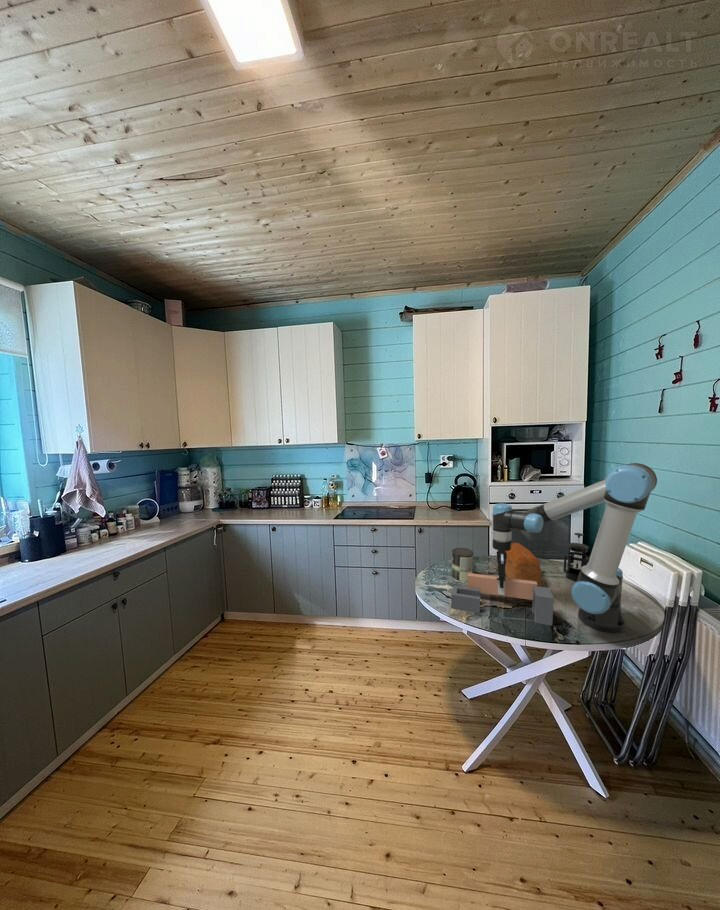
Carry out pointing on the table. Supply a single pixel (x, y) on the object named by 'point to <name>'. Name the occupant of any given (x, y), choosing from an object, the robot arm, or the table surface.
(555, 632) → the table surface
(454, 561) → the coffee can
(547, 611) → the cap
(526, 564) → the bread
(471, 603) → the far end cap
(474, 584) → the slat
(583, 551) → the french press
